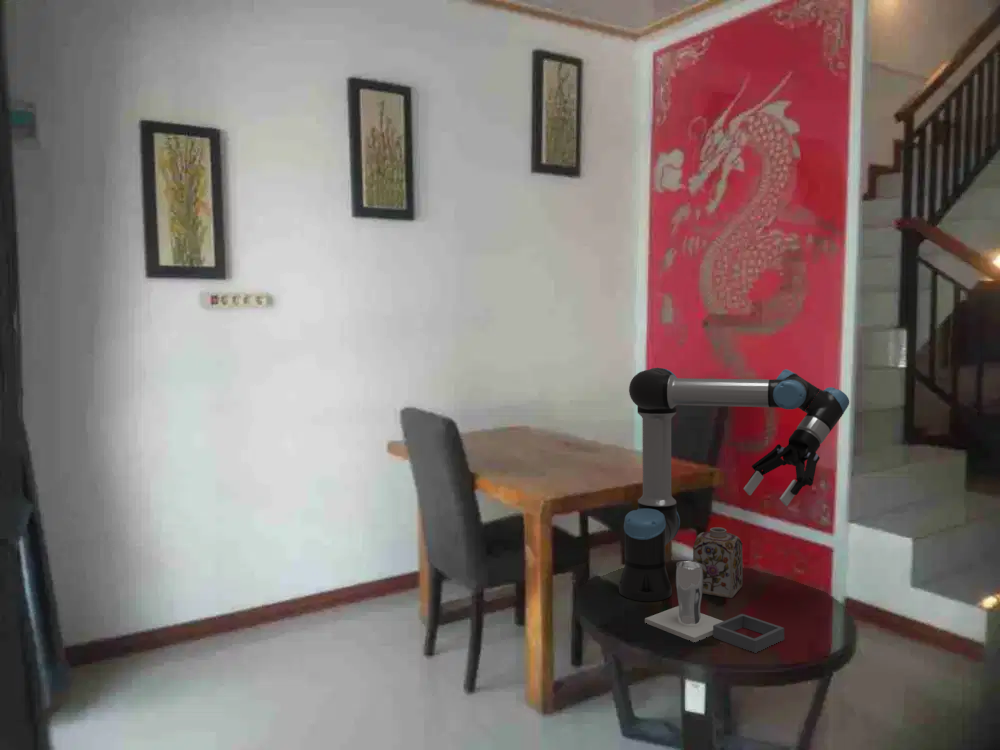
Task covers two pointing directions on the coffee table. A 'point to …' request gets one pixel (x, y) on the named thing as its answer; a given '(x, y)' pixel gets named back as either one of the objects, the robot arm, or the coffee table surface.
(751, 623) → the holder
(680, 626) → the board
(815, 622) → the coffee table surface
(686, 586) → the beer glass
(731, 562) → the decorative jar
